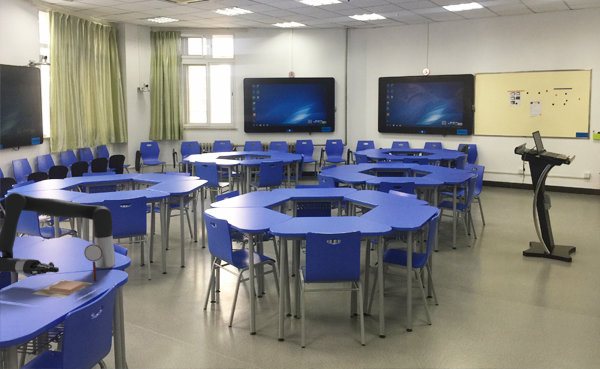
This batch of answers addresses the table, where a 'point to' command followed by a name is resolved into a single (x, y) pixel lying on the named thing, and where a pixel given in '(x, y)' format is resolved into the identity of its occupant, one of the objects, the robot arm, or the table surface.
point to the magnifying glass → (93, 255)
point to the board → (57, 294)
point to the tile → (67, 286)
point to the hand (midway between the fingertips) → (57, 270)
